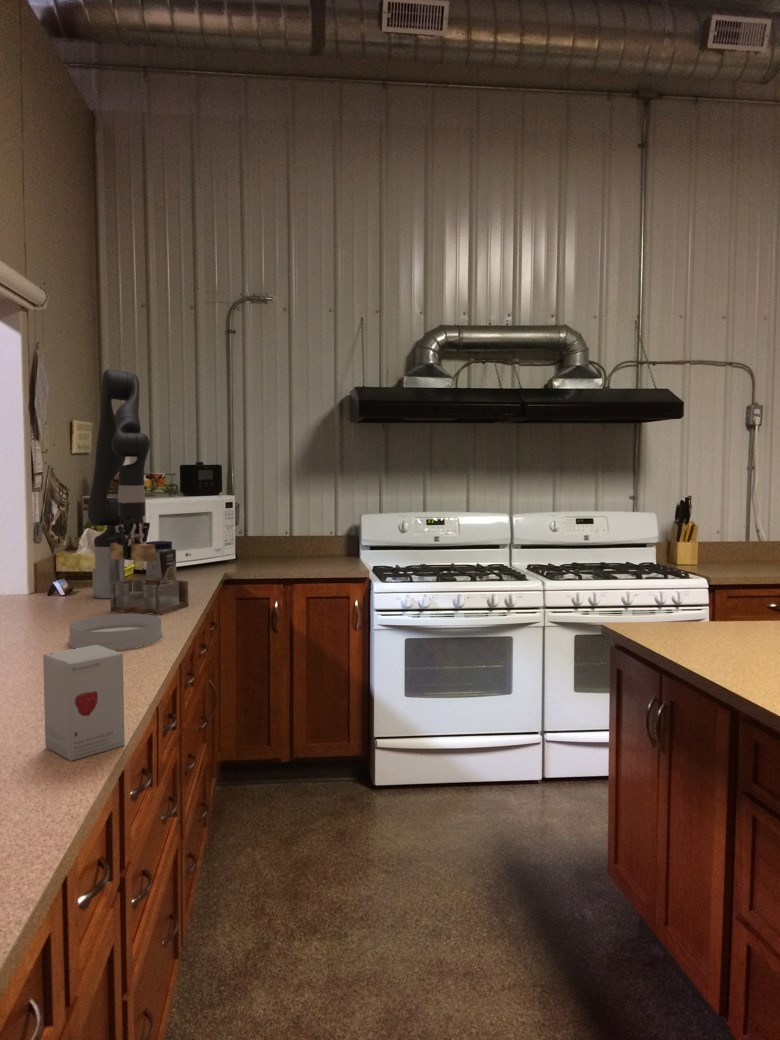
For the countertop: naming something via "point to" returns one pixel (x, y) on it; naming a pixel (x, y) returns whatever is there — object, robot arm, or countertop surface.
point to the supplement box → (83, 701)
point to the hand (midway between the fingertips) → (132, 557)
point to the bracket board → (148, 595)
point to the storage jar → (161, 544)
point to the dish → (116, 631)
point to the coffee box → (162, 565)
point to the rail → (133, 552)
